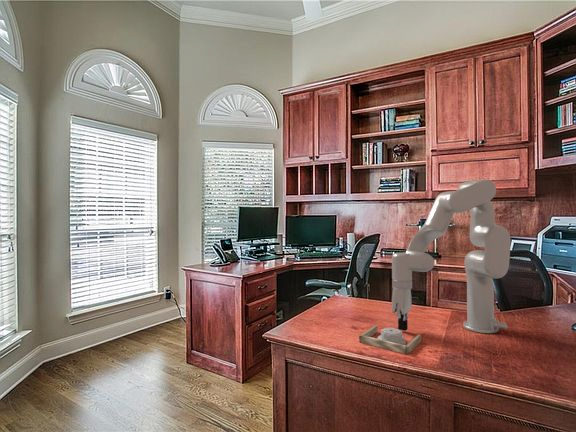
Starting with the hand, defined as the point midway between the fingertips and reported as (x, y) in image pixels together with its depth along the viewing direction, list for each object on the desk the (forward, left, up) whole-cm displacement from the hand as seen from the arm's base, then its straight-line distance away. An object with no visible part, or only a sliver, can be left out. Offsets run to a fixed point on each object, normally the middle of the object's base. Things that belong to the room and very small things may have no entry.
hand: (402, 329), depth 136 cm
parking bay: (0, +13, -1) cm, 13 cm away
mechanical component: (0, +12, -1) cm, 12 cm away
